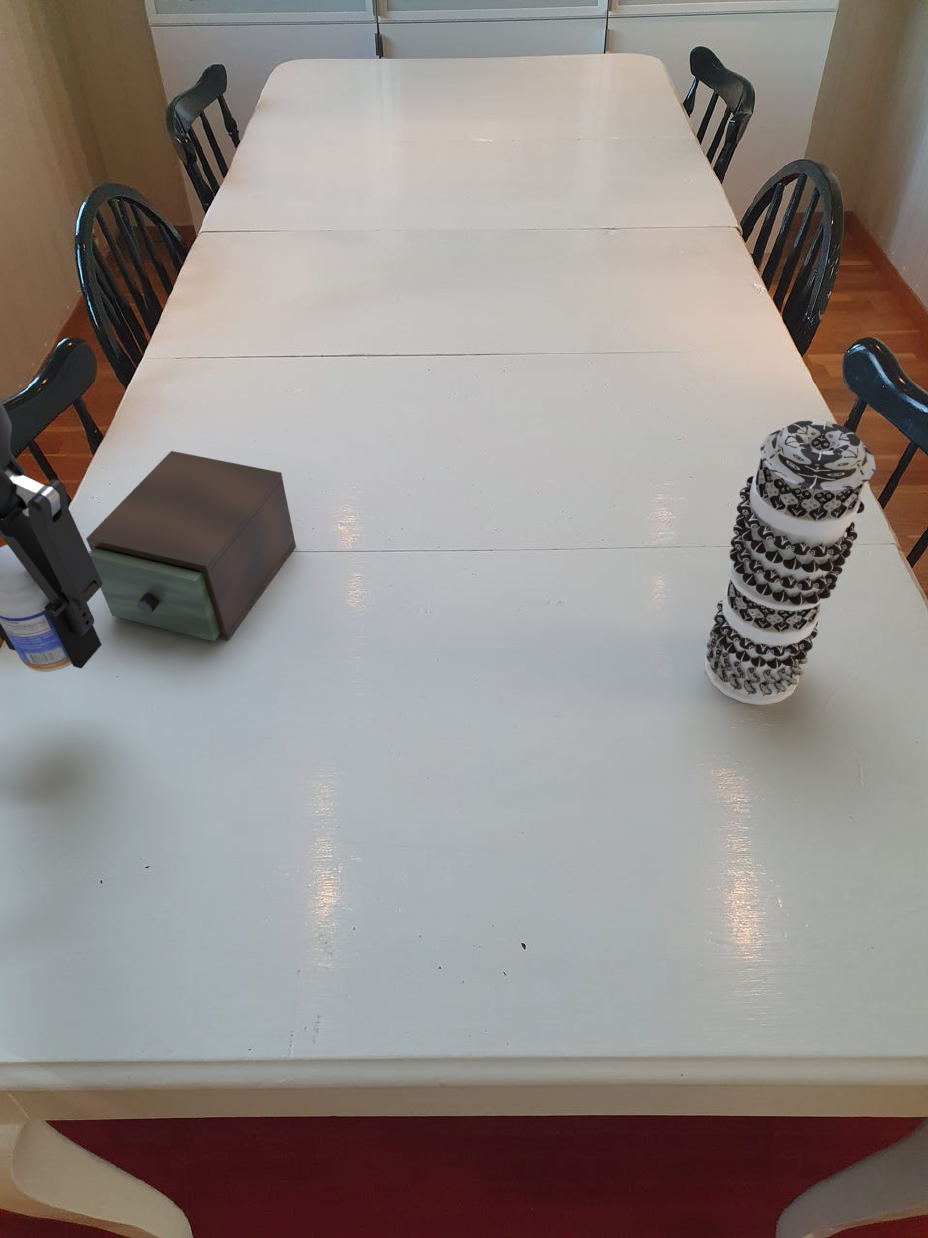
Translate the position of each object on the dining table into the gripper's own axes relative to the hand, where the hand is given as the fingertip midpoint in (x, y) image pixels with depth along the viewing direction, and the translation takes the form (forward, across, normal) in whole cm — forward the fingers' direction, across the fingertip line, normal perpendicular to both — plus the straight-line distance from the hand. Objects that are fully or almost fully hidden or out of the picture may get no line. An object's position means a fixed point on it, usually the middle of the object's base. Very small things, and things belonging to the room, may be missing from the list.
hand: (55, 646), depth 73 cm
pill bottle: (+1, 0, 0) cm, 1 cm away
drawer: (+9, 0, -18) cm, 20 cm away
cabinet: (+10, 0, -20) cm, 22 cm away
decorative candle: (+10, -54, -24) cm, 60 cm away
